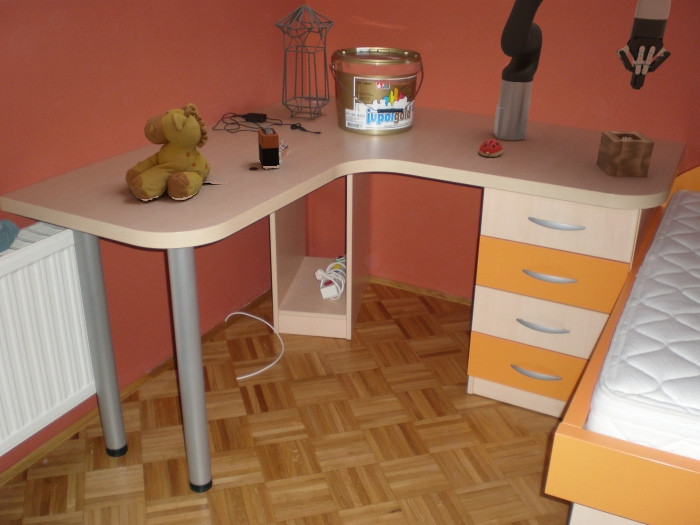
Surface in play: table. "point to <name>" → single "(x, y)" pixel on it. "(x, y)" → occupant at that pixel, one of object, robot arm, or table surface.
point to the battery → (268, 146)
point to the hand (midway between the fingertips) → (635, 88)
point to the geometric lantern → (294, 18)
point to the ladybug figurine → (490, 148)
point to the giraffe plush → (172, 156)
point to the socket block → (624, 153)
